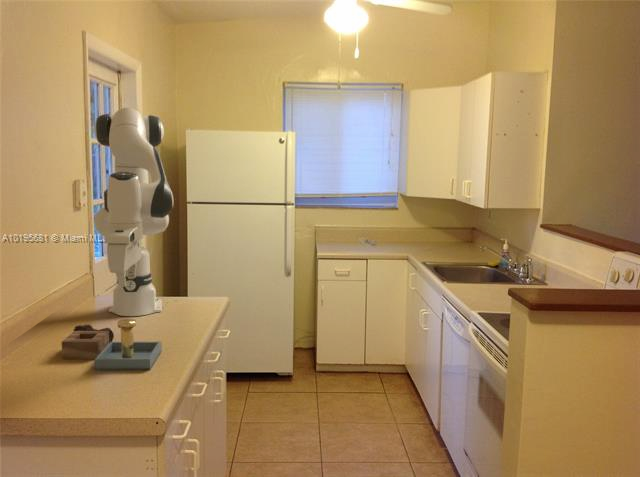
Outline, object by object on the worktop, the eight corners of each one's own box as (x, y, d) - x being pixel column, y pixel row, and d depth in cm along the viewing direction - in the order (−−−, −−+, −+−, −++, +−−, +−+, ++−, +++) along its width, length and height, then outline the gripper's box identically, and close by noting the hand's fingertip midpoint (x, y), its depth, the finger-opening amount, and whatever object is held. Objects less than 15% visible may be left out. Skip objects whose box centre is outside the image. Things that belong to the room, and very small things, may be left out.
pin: (121, 357, 162) (120, 318, 160) (138, 357, 162) (137, 319, 160) (116, 363, 157) (115, 323, 155) (134, 363, 157) (133, 323, 156)
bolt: (80, 340, 183) (109, 349, 175) (67, 336, 179) (96, 344, 171) (87, 323, 185) (116, 330, 176) (74, 318, 181) (103, 325, 172)
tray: (111, 351, 168) (110, 341, 168) (161, 351, 169) (161, 341, 169) (94, 370, 154) (94, 359, 153) (150, 369, 155) (150, 359, 154)
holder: (75, 347, 171) (74, 331, 171) (109, 346, 172) (108, 330, 171) (62, 358, 162) (61, 341, 161) (98, 358, 162) (98, 341, 162)
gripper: (124, 227, 166) (125, 274, 168) (102, 238, 146) (104, 291, 148) (146, 227, 167) (147, 274, 169) (127, 238, 146) (129, 291, 148)
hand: (127, 282), depth 158 cm, fingers open, 8 cm apart
